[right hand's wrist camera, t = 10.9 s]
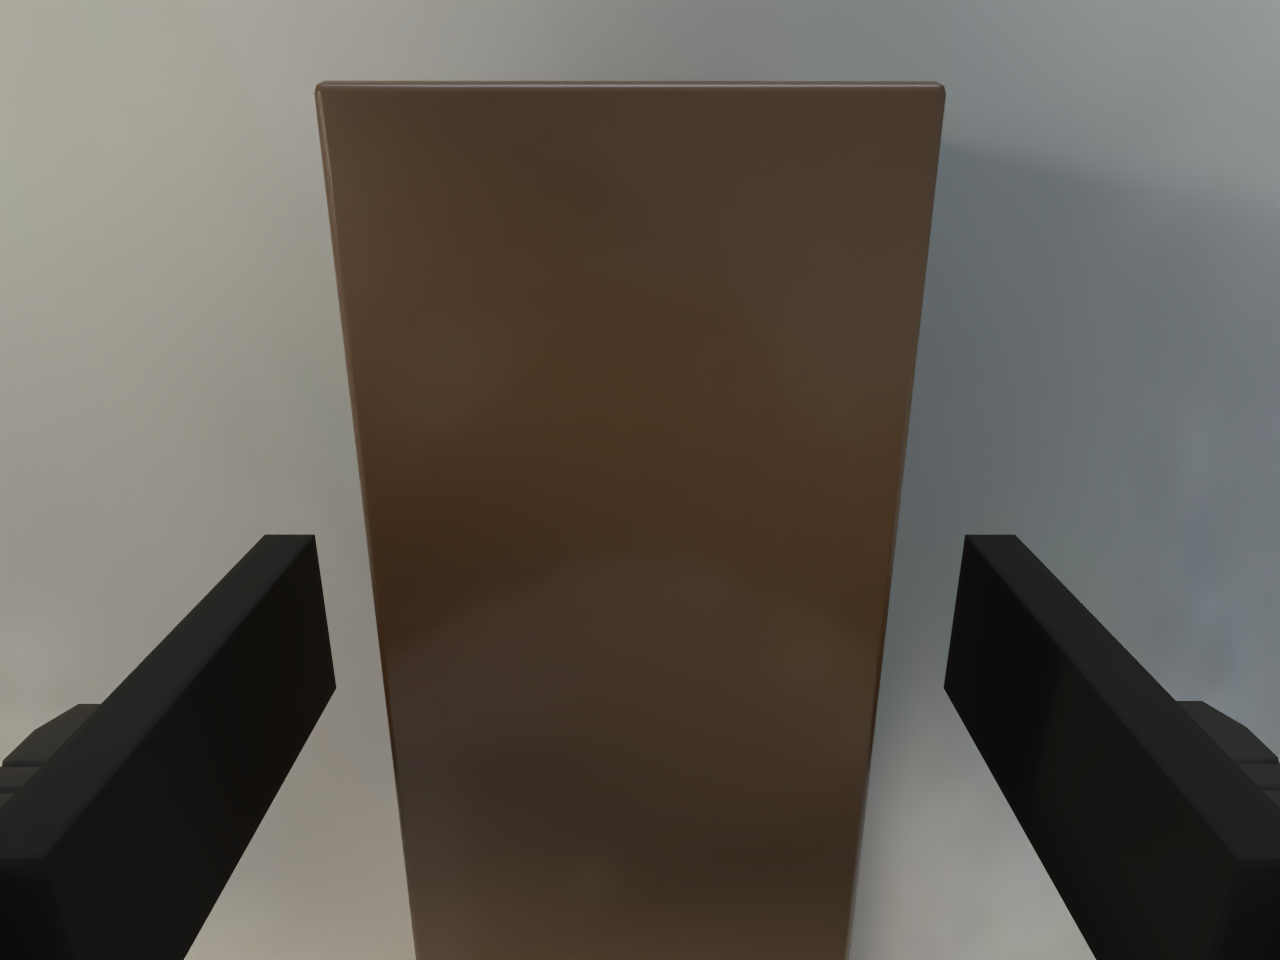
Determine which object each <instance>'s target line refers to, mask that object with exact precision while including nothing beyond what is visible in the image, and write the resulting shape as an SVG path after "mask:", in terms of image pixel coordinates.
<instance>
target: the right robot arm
mask: <svg viewBox="0 0 1280 960" xmlns="http://www.w3.org/2000/svg"><path fill="white" fill-rule="evenodd" d="M335 689H336V683H335V676H334V668H333V661H332V654H331V647H330V640H329V633H328V626H327V619H326V612H325V605H324V597H323V590H322V583H321V576H320V569H319V562H318V555H317V548H316V541H315V535H264V536H263V537H262V538H261V539H260V540H259V541H258V542H257V543H256V544H255V546H254V547H253V548H252V549H251V550H250V551H249V552H248V553H247V554H246V555H245V556H244V557H243V558H242V559H241V560H240V561H239V562H238V563H237V564H236V565H235V566H234V567H233V568H232V569H231V570H230V571H229V572H228V573H227V574H226V576H225V577H224V578H223V579H222V580H221V581H220V582H219V583H218V584H217V585H216V586H215V587H214V588H213V589H212V590H211V591H210V592H209V593H208V594H207V595H206V596H205V597H204V598H203V599H202V600H201V601H200V602H199V603H198V604H197V605H196V607H195V608H194V609H193V610H192V611H191V612H190V613H189V614H188V615H187V616H186V617H185V618H184V619H183V620H182V621H181V622H180V623H179V624H178V625H177V626H176V627H175V628H174V629H173V630H172V631H171V632H170V633H169V634H168V635H167V637H166V638H165V639H164V640H163V641H162V642H161V643H160V644H159V645H158V646H157V647H156V648H155V649H154V650H153V651H152V652H151V653H150V654H149V655H148V656H147V657H146V658H145V659H144V660H143V661H142V662H141V663H140V664H139V665H138V667H137V668H136V669H135V670H134V671H133V672H132V673H131V674H130V675H129V676H128V677H127V678H126V679H125V680H124V681H123V682H122V683H121V684H120V685H119V686H118V687H117V688H116V689H115V690H114V691H113V692H112V693H111V694H110V695H109V697H108V698H107V699H106V700H105V701H104V702H103V703H102V704H78V705H76V706H75V707H73V708H71V709H70V710H68V711H66V712H64V713H63V714H61V715H59V716H58V717H56V718H54V719H53V720H51V721H49V722H48V723H46V724H44V725H43V726H41V727H39V728H37V729H36V730H34V731H33V732H32V733H31V734H30V735H29V736H28V737H27V738H26V739H25V740H24V741H23V742H22V743H21V744H20V745H19V746H18V747H17V748H16V749H15V750H13V751H12V752H11V753H10V754H9V755H8V756H7V757H6V758H5V759H4V760H3V765H2V767H0V960H184V958H185V956H186V955H187V953H188V951H189V949H190V947H191V946H192V944H193V942H194V940H195V939H196V937H197V935H198V933H199V931H200V930H201V928H202V926H203V924H204V922H205V921H206V919H207V917H208V915H209V914H210V912H211V910H212V908H213V906H214V905H215V903H216V901H217V899H218V898H219V896H220V894H221V892H222V890H223V889H224V887H225V885H226V883H227V882H228V880H229V878H230V876H231V874H232V873H233V871H234V869H235V867H236V866H237V864H238V862H239V860H240V858H241V857H242V855H243V853H244V851H245V849H246V848H247V846H248V844H249V842H250V841H251V839H252V837H253V835H254V833H255V832H256V830H257V828H258V826H259V825H260V823H261V821H262V819H263V817H264V816H265V814H266V812H267V810H268V809H269V807H270V805H271V803H272V801H273V800H274V798H275V796H276V794H277V792H278V791H279V789H280V787H281V785H282V784H283V782H284V780H285V778H286V776H287V775H288V773H289V771H290V769H291V768H292V766H293V764H294V762H295V760H296V759H297V757H298V755H299V753H300V752H301V750H302V748H303V746H304V744H305V743H306V741H307V739H308V737H309V735H310V734H311V732H312V730H313V728H314V727H315V725H316V723H317V721H318V719H319V718H320V716H321V714H322V712H323V711H324V709H325V707H326V705H327V703H328V702H329V700H330V698H331V696H332V695H333V693H334V691H335ZM944 689H945V691H946V693H947V695H948V696H949V698H950V700H951V702H952V703H953V705H954V707H955V709H956V711H957V712H958V714H959V716H960V718H961V719H962V721H963V723H964V725H965V727H966V728H967V730H968V732H969V734H970V736H971V737H972V739H973V741H974V743H975V744H976V746H977V748H978V750H979V752H980V753H981V755H982V757H983V759H984V760H985V762H986V764H987V766H988V768H989V769H990V771H991V773H992V775H993V776H994V778H995V780H996V782H997V784H998V785H999V787H1000V789H1001V791H1002V793H1003V794H1004V796H1005V798H1006V800H1007V801H1008V803H1009V805H1010V807H1011V809H1012V810H1013V812H1014V814H1015V816H1016V817H1017V819H1018V821H1019V823H1020V825H1021V826H1022V828H1023V830H1024V832H1025V833H1026V835H1027V837H1028V839H1029V841H1030V842H1031V844H1032V846H1033V848H1034V850H1035V851H1036V853H1037V855H1038V857H1039V858H1040V860H1041V862H1042V864H1043V866H1044V867H1045V869H1046V871H1047V873H1048V874H1049V876H1050V878H1051V880H1052V882H1053V883H1054V885H1055V887H1056V889H1057V890H1058V892H1059V894H1060V896H1061V898H1062V899H1063V901H1064V903H1065V905H1066V906H1067V908H1068V910H1069V912H1070V914H1071V915H1072V917H1073V919H1074V921H1075V923H1076V924H1077V926H1078V928H1079V930H1080V931H1081V933H1082V935H1083V937H1084V939H1085V940H1086V942H1087V944H1088V946H1089V947H1090V949H1091V951H1092V953H1093V955H1094V956H1095V958H1096V960H1280V764H1279V762H1278V757H1277V756H1276V755H1275V754H1274V753H1273V752H1272V751H1271V750H1270V749H1269V748H1267V747H1266V746H1265V745H1264V744H1263V743H1262V742H1261V741H1260V740H1259V739H1258V738H1257V737H1256V736H1255V735H1254V734H1253V733H1252V732H1251V731H1250V730H1249V729H1248V728H1247V727H1245V726H1243V725H1242V724H1240V723H1238V722H1237V721H1235V720H1233V719H1231V718H1230V717H1228V716H1226V715H1225V714H1223V713H1221V712H1220V711H1218V710H1216V709H1214V708H1213V707H1211V706H1209V705H1208V704H1206V703H1204V702H1203V701H1175V700H1174V699H1173V698H1172V697H1171V695H1170V694H1169V693H1168V692H1167V691H1166V690H1165V689H1164V688H1163V687H1162V686H1161V685H1160V684H1159V683H1158V682H1157V681H1156V680H1155V679H1154V678H1153V677H1152V676H1151V675H1150V674H1149V673H1148V672H1147V671H1146V670H1145V669H1144V668H1143V667H1142V665H1141V664H1140V663H1139V662H1138V661H1137V660H1136V659H1135V658H1134V657H1133V656H1132V655H1131V654H1130V653H1129V652H1128V651H1127V650H1126V649H1125V648H1124V647H1123V646H1122V645H1121V644H1120V643H1119V642H1118V641H1117V640H1116V639H1115V638H1114V637H1113V636H1112V634H1111V633H1110V632H1109V631H1108V630H1107V629H1106V628H1105V627H1104V626H1103V625H1102V624H1101V623H1100V622H1099V621H1098V620H1097V619H1096V618H1095V617H1094V616H1093V615H1092V614H1091V613H1090V612H1089V611H1088V610H1087V609H1086V608H1085V607H1084V606H1083V604H1082V603H1081V602H1080V601H1079V600H1078V599H1077V598H1076V597H1075V596H1074V595H1073V594H1072V593H1071V592H1070V591H1069V590H1068V589H1067V588H1066V587H1065V586H1064V585H1063V584H1062V583H1061V582H1060V581H1059V580H1058V579H1057V578H1056V577H1055V576H1054V574H1053V573H1052V572H1051V571H1050V570H1049V569H1048V568H1047V567H1046V566H1045V565H1044V564H1043V563H1042V562H1041V561H1040V560H1039V559H1038V558H1037V557H1036V556H1035V555H1034V554H1033V553H1032V552H1031V551H1030V550H1029V549H1028V548H1027V547H1026V546H1025V544H1024V543H1023V542H1022V541H1021V540H1020V539H1019V538H1018V537H1017V536H1016V535H965V540H964V548H963V555H962V562H961V569H960V576H959V583H958V590H957V597H956V604H955V612H954V619H953V626H952V633H951V640H950V647H949V654H948V661H947V668H946V675H945V683H944Z"/></svg>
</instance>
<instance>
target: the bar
mask: <svg viewBox="0 0 1280 960" xmlns="http://www.w3.org/2000/svg"><path fill="white" fill-rule="evenodd" d="M314 94H315V103H316V111H317V120H318V128H319V137H320V145H321V154H322V162H323V171H324V179H325V188H326V196H327V205H328V213H329V222H330V230H331V239H332V247H333V256H334V264H335V273H336V282H337V290H338V299H339V307H340V316H341V324H342V333H343V341H344V350H345V358H346V367H347V375H348V384H349V392H350V401H351V409H352V418H353V426H354V435H355V443H356V452H357V461H358V469H359V478H360V486H361V495H362V503H363V512H364V520H365V529H366V537H367V546H368V554H369V563H370V571H371V580H372V588H373V597H374V605H375V614H376V622H377V631H378V640H379V648H380V657H381V665H382V674H383V682H384V691H385V699H386V708H387V716H388V725H389V733H390V742H391V750H392V759H393V767H394V776H395V784H396V793H397V801H398V810H399V819H400V827H401V836H402V844H403V853H404V861H405V870H406V878H407V887H408V895H409V904H410V912H411V921H412V929H413V938H414V946H415V955H416V960H849V954H850V945H851V936H852V927H853V918H854V909H855V900H856V891H857V883H858V874H859V865H860V856H861V847H862V838H863V829H864V820H865V811H866V802H867V794H868V785H869V776H870V767H871V758H872V749H873V740H874V731H875V722H876V714H877V705H878V696H879V687H880V678H881V669H882V660H883V651H884V642H885V633H886V625H887V616H888V607H889V598H890V589H891V580H892V571H893V562H894V553H895V544H896V536H897V527H898V518H899V509H900V500H901V491H902V482H903V473H904V464H905V455H906V447H907V438H908V429H909V420H910V411H911V402H912V393H913V384H914V375H915V367H916V358H917V349H918V340H919V331H920V322H921V313H922V304H923V295H924V286H925V278H926V269H927V260H928V251H929V242H930V233H931V224H932V215H933V206H934V197H935V189H936V180H937V171H938V162H939V153H940V144H941V135H942V126H943V117H944V108H945V100H946V92H945V88H944V85H942V84H940V83H938V82H855V81H323V82H321V83H319V84H317V85H316V89H315V93H314Z"/></svg>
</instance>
